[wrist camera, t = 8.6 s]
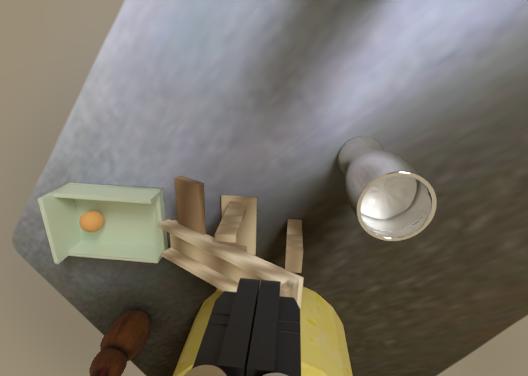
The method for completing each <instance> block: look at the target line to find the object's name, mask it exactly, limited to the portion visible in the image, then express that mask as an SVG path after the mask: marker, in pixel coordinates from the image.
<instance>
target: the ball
mask: <svg viewBox="0 0 528 376" xmlns="http://www.w3.org/2000/svg"><path fill="white" fill-rule="evenodd" d="M79 224H80V226H81V228H82V229H83V230H85V231H87V232H95V231H98V230H99V229H101V228H102V226H103V225H104V217H103V215H102V214H101V213H100V212H98V211H95V210H89V211H86V212H85V213H83V214H82V215H81V217H80V220H79Z"/></svg>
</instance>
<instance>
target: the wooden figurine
mask: <svg viewBox="0 0 528 376" xmlns="http://www.w3.org/2000/svg"><path fill="white" fill-rule="evenodd" d="M149 334H150V319H149V317H148V316H147V315H146V313H145V312H143V311H141V310H130V311H128V312H126V313H125V314H123V315H122V316H121V317H120V318H119V319H117V320H116V321H115V322H114V324H113V325H112V326H111V327H110V329H109V330H108V331H107V333H106V334H105V336H104V338H103V339H102V342H101V345H100V346H101V351H100V352H99V353H98V354H97V356H96V357H95V358H94V360H93V361H92V364H91V367H90V376H121V374H122V373H123V371H124V369H125V367H126V364H127V361H129V360H131V359H132V358H133V357H135V355H136V354H137V353H138V352H139V351H140V350H141V349H142V347H143V346H144V345H145V343H146V341H147V340H148V337H149Z"/></svg>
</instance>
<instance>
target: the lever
mask: <svg viewBox="0 0 528 376" xmlns="http://www.w3.org/2000/svg"><path fill="white" fill-rule="evenodd" d="M175 190H176V203H177V215H178V221H176V220H173V221H171V220H169V219H167V220H165V221H163V222H161V223H158V227H159V228H160V229H162V230H164V231H166V232H168V233H170V243H171V248H169V249H167V250H165V251H163V252H161V254H162V257H164V258H166V259H167V260H169V261H171V262H173V263H175V264H176V265H178V266H180V267H182V268H183V269H185V270H187V271H189V272H190V273H192V274H194V275H196V276H198V277H199V278H201V279H203V280H205V281H206V282H208V283H210V284H212V285H213V286H215V287H217V288H219V289H221V290H222V291H229V292H236V291H237V287H238V284H239V280H240V278H247V279H258V280H260V283H261V280H270V281H281V283H280V296H283V297H293V298H295V300H296V302H297V304H298V306H299V308H300V309H301V300H302V289H303V279H304V278H303V277H301V276H299V275H296V274H294V273H292V272H290V271H288V270H285V269H283V268H281V267H279V266H276V265H274V264H272V263H270V262H268V261H265V260H263V259H261V258H259V257H256V256H254V255H252V254H250V253H248V252H245V251H243V250H241V249H239V248H236V247H234V246H232V245H230V244H228V243H225V242H221V241H215V238H214V237H212V236H210V235H207V234H206V225H205V203H204V183H201V182H198V181H195V180H192V179H189V178H186V177H183V176H179V177H176V178H175Z"/></svg>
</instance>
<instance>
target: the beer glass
mask: <svg viewBox="0 0 528 376" xmlns="http://www.w3.org/2000/svg"><path fill="white" fill-rule="evenodd" d="M338 166H339V169H340V171H341V172H342V174H343V175H344V176H345V190H346V195H347V198H348V201H349V204H350V206H351V208H352V210H353V212H354V214H355V215H356V217H357V218H358V220H359V222H360V224H361V226H362V227H363V229H364V230H365V231H366V232H367V233H369V234H370V235H372V236H373V237H375V238H378V239H381V240H386V241H400V240H404V239H408V238H410V237H413V236H415V235H416V234H418V233H420V232H421V231H422V230H423V229H425V228H426V227H427V226H428V224H429V223H430V222H431V220H432V218H433V216H434V214H435V211H436V206H437V199H436V194H435V192H434V189H433V188H432V186H431V185H430V183H429V182H428V181H427V180H425V178H424V177H423V176H422V174H421V173H420V172H419V171H418V170H417V169H416V168H415V167H414V166H413V165H412V164H411V163H410V162H408V161H407V160H405V159H404V158H403V157H401V156H399V155H397V154H395V153H392V152H389V151H386V150H385V149H384V147H383V145H382V144H381V143H380V142H379V141H378V140H376V139H375V138H372V137H369V136H359V137H355V138H353V139H351V140H349V141H348V142H346V143H345V144H344V146H343V147H342V148H341V150H340V152H339V155H338Z"/></svg>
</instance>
